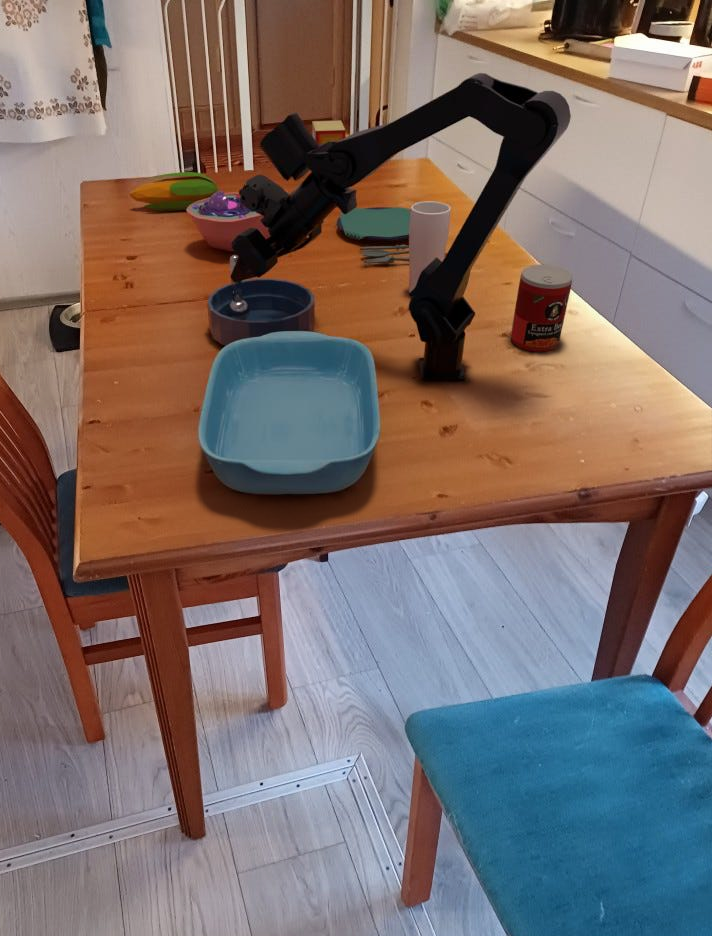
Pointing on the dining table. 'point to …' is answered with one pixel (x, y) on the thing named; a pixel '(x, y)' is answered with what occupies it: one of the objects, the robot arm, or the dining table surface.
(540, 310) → the canned food
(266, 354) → the casserole dish
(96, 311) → the dining table surface
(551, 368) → the dining table surface
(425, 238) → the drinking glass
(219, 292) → the dark blue round bowl
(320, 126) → the baking soda box
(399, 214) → the cutlery set
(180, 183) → the corn
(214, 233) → the cell model
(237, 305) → the silver metal pestle
